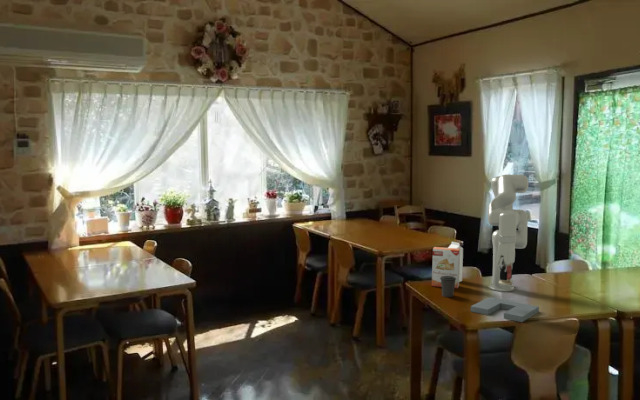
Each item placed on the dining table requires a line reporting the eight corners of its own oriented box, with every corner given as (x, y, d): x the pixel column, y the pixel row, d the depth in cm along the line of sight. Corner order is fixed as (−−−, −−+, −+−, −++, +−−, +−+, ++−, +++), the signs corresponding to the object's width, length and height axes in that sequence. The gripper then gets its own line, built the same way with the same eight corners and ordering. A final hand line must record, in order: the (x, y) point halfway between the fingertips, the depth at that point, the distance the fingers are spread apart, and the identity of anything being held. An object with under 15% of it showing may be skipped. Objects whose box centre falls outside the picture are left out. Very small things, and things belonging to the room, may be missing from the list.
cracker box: (431, 286, 307) (432, 248, 305) (433, 283, 313) (434, 246, 310) (458, 288, 302) (459, 250, 300) (459, 286, 308) (460, 248, 306)
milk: (454, 282, 315) (455, 243, 313) (446, 280, 320) (447, 242, 318) (462, 281, 319) (463, 242, 316) (454, 279, 324) (455, 240, 321)
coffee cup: (456, 298, 284) (456, 278, 283) (439, 297, 286) (440, 277, 285) (455, 294, 292) (456, 274, 291) (439, 293, 294) (439, 274, 293)
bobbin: (502, 281, 265) (502, 260, 264) (514, 283, 261) (515, 262, 260) (496, 283, 260) (497, 262, 259) (509, 285, 257) (509, 264, 256)
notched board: (489, 302, 277) (489, 297, 277) (538, 311, 262) (539, 306, 262) (470, 311, 262) (470, 306, 262) (521, 322, 247) (522, 316, 246)
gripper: (506, 236, 267) (505, 274, 269) (491, 241, 255) (490, 281, 256) (522, 238, 262) (521, 276, 264) (507, 243, 250) (506, 283, 252)
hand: (505, 278), depth 260 cm, fingers closed on bobbin, 4 cm apart
